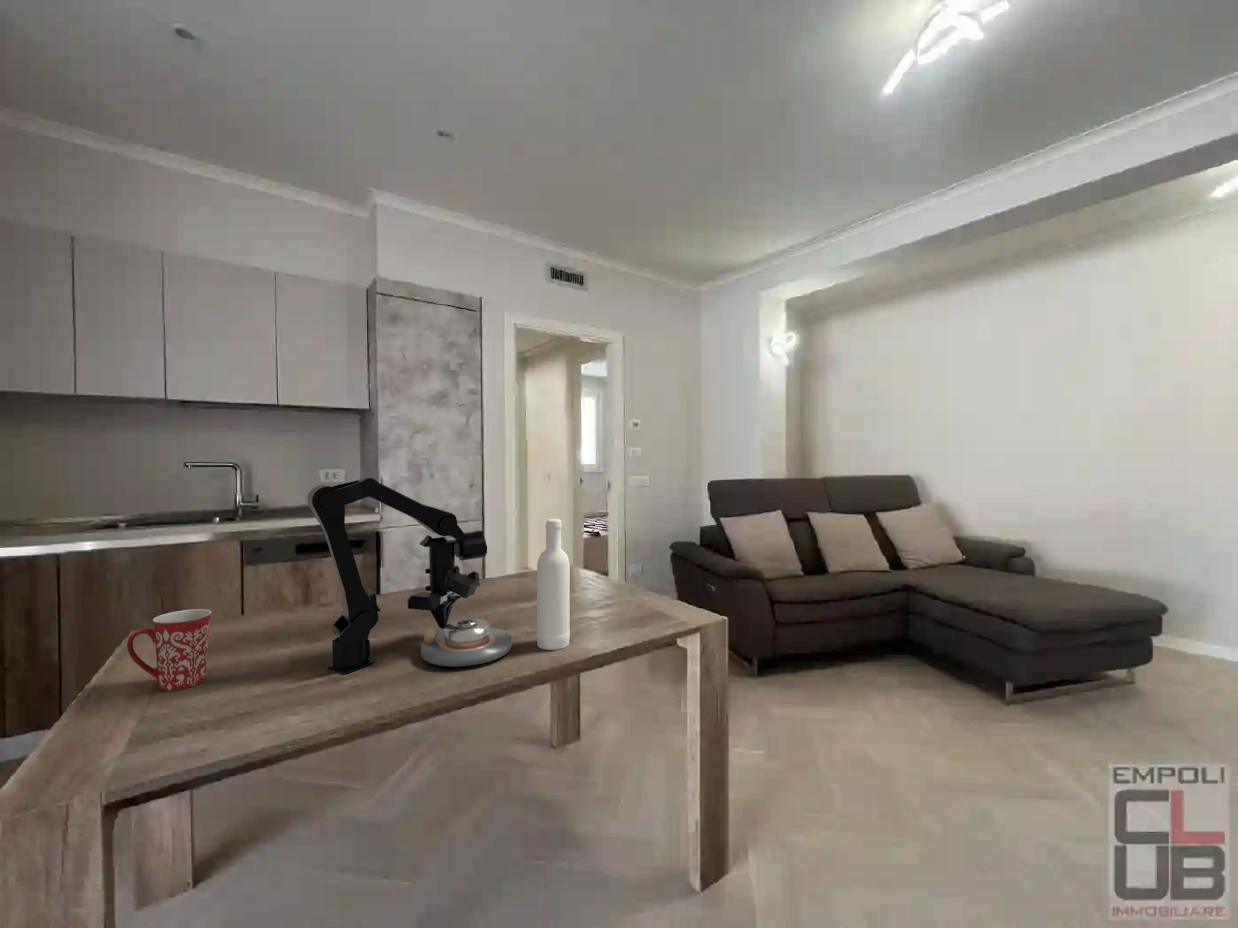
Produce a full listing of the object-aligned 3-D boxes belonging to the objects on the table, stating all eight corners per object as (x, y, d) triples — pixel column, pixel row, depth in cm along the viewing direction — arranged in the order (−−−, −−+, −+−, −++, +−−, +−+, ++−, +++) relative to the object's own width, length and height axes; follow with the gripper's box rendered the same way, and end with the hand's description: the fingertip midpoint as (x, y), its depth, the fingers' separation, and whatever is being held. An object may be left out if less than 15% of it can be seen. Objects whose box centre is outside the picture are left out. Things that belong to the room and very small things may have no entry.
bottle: (566, 636, 130) (566, 517, 130) (573, 648, 123) (573, 521, 122) (534, 640, 128) (534, 518, 127) (539, 652, 120) (539, 522, 120)
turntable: (504, 665, 111) (504, 641, 110) (407, 667, 110) (407, 643, 109) (517, 632, 131) (517, 612, 130) (435, 633, 129) (435, 613, 129)
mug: (214, 669, 110) (213, 605, 110) (209, 685, 102) (208, 617, 102) (134, 683, 103) (133, 615, 103) (122, 702, 96) (120, 629, 95)
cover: (485, 648, 115) (485, 628, 115) (439, 649, 115) (438, 628, 115) (493, 633, 125) (493, 614, 125) (451, 633, 125) (451, 614, 125)
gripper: (449, 574, 113) (450, 645, 113) (492, 557, 131) (492, 618, 131) (405, 571, 116) (406, 641, 116) (452, 554, 134) (453, 615, 134)
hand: (442, 628), depth 124 cm, fingers closed
